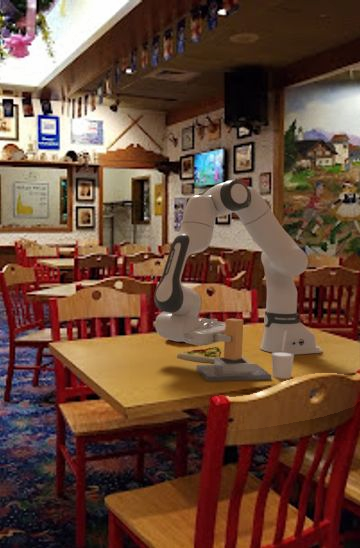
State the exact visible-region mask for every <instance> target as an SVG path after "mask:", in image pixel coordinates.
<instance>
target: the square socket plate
mask: <svg viewBox="0 0 360 548" xmlns="http://www.w3.org/2000/svg"><path fill="white" fill-rule="evenodd" d="M195 369H196V371H197V372H198V373H199V374H200V376H201V377H203V379H204V380H205V381H206V382H208V383H209V382H212V383H213V382H241V381H243V382H244V381H249V382H250V381H271V380H272V374H270V373H269V372H268V371H266V370H265V369H264V368H263V367H262V366H260V365H258V364H257V363H252V361H249V360H248V359H247V358H246V357H244V356H242V358H240V359H237V360H232V359H227V358H224V356H219V357H215V363H214V364H198V365H197V364H196V368H195Z"/></svg>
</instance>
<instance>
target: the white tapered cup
mask: <svg viewBox="0 0 360 548" xmlns="http://www.w3.org/2000/svg"><path fill="white" fill-rule="evenodd" d="M294 358H295V355H293V354H291V353H286V352H274V353H273V352H271V365H272V377H274V378H275V379H276V378H277V379H291V378H292V371H293V365H294Z"/></svg>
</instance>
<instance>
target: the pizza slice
mask: <svg viewBox="0 0 360 548" xmlns="http://www.w3.org/2000/svg"><path fill="white" fill-rule="evenodd" d="M220 352H221V348H220V347H217V346H213V347H208V348H205V349H202V348H201V349H193V350H191V351H190V350H186V351H183V352H179V353H177V354H176V358H177V359H181V360H184V361H185V360H186V361H191V362H196V363H197V362H198V363H206V364H215V357H220Z"/></svg>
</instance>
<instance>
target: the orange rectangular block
mask: <svg viewBox="0 0 360 548" xmlns="http://www.w3.org/2000/svg"><path fill="white" fill-rule="evenodd" d="M224 322H225V335H230V336H233V341H231V342H226V341H224V346H223V347H224V348H223V357H224V358H227V359H232V360H237V359H240V358H242V357H243V356H242V355H243V338H244V319H239V318H227V319H225V321H224Z"/></svg>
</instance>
